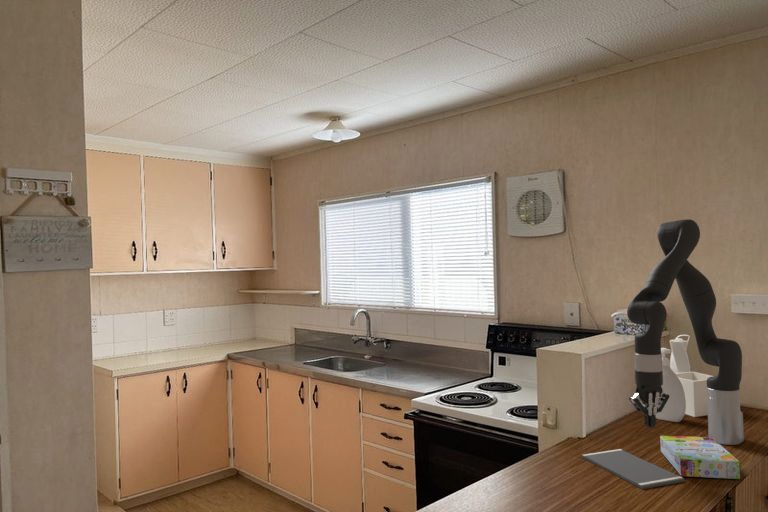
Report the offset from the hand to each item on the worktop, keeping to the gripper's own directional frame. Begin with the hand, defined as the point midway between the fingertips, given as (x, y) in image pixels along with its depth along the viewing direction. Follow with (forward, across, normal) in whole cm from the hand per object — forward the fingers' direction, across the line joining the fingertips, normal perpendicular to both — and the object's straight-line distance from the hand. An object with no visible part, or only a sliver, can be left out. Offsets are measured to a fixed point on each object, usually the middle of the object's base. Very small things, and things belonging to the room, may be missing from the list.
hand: (650, 427), depth 167 cm
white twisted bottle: (+11, -61, -51) cm, 80 cm away
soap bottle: (+11, -38, -34) cm, 52 cm away
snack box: (+8, -5, +1) cm, 10 cm away
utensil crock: (+11, -54, -38) cm, 67 cm away
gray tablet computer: (+11, +8, 0) cm, 14 cm away
